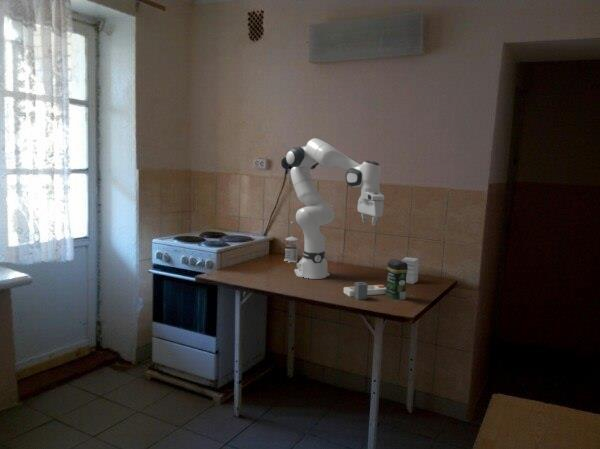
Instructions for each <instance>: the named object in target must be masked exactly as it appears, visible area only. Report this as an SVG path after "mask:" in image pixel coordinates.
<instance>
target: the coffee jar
mask: <svg viewBox="0 0 600 449" xmlns="http://www.w3.org/2000/svg"><path fill="white" fill-rule="evenodd" d="M386 268H387V275H386V277H387V280H386V286H385V287H386V294H385V296H386V297H387V298H389V299H392V300H397V301H399V300H400V301H401V300H406V299H407V283H406V275H407V270H408V265H407V263H405V262H402V260H399V259H397V258H395V259H389V260H388V261H387V266H386Z"/></svg>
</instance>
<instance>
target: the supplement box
mask: <svg viewBox="0 0 600 449" xmlns="http://www.w3.org/2000/svg"><path fill="white" fill-rule="evenodd" d="M401 261H402V262H405V263H407V265H408V270H407V275H406V284H411V285H414V284H415V283H417V282H418V281H419V280H418V279H419V265H420V264H419V263H420V259H419V258H417V257H410V256H409V257H408V256H405V257H404V258H402V259H401Z"/></svg>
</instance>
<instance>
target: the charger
mask: <svg viewBox="0 0 600 449" xmlns="http://www.w3.org/2000/svg"><path fill="white" fill-rule="evenodd" d="M368 286H369V285H368V283H366V282H364V281H357V282H354V285H353V287H354V296H353V298H354V299H356V300H358V301H360V300H367V299H368V295H367V289H368Z"/></svg>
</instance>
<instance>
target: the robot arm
mask: <svg viewBox="0 0 600 449" xmlns="http://www.w3.org/2000/svg"><path fill="white" fill-rule="evenodd" d="M285 161H286V164H287V165H288V166H289V167H291V169H290V179H291V182H292V186H293V188H294V189H293V190H294V191H295V194H296V196H297V199H298V201H299V202H300V203H303V204H304V207H301V208H298V209H297V211H296V213H295V220H296V223H297V224H298V226H300V227H301V228H300V229H301V230H302V232H303V237H304V239H303V240H304V244H303V245H304V248H303V251H302V257H301V258H300V260H299V261H298V262H296V268H294V274H295V276H296V277H297V276H298V277H297V278H303V277H304V279H308V278H309V280H318V279H319V280H320V279H325V278H327V277H329V276H330V273H329V272H328V260H327V259H326V258H325V257H326V251H325V248H326V247H325V246H326V244H325V243H326V240H325V238H326V237H325V236H324V234H322V233H321V230H320V226H325V225H326V226H327V224H330V223H332V222H333V220H335V216H336V215H335V210H334V209H333V207H331V206H329V204H327V203H326V202H325V201H324V200H323V198H322V197H321V195H320V194H319V193H318V190H317V188H316V184H315V182H314V180H313V178H312V174H311V170H315V168H317V166H318V165H321V166H323V167H326V168H330V169H342V170H345V171H346V172H345V182H346V184H347V186H349V187H351V188H360V195H359V198H358V200H357V207H356V208H357V212H358V213H360V215H361V218H362V223H363V224H365V223H367V222H368V219H367V215H368V216H371V218H372V219H371V221H370V225H371V226H377V221H378V217H379V218H381V217H382V216H383V214H384V201H385V195H383V193H382V192H381V191H380V190H381V189H380V183H381V174H382V173H381V172H382V171H381V165H380V164H379V162H376V161H372V160H365V161H363V162H362V163H360V162H358V161H357V160H355V159H353V158H351V157H349V156H348V155H346V154H344V153H343V152H341V151H339V150H338V149H337V148H335V147H334V146H332V145H331V144H329V143H327V142H326V141H323V139H319V138H316V137H314V138H312V139H309V140H308V141H307V142H306V145H304V146H296V147H295V146H294V147H292V148H289V149H288V150H287V151H286V153H285Z"/></svg>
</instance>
